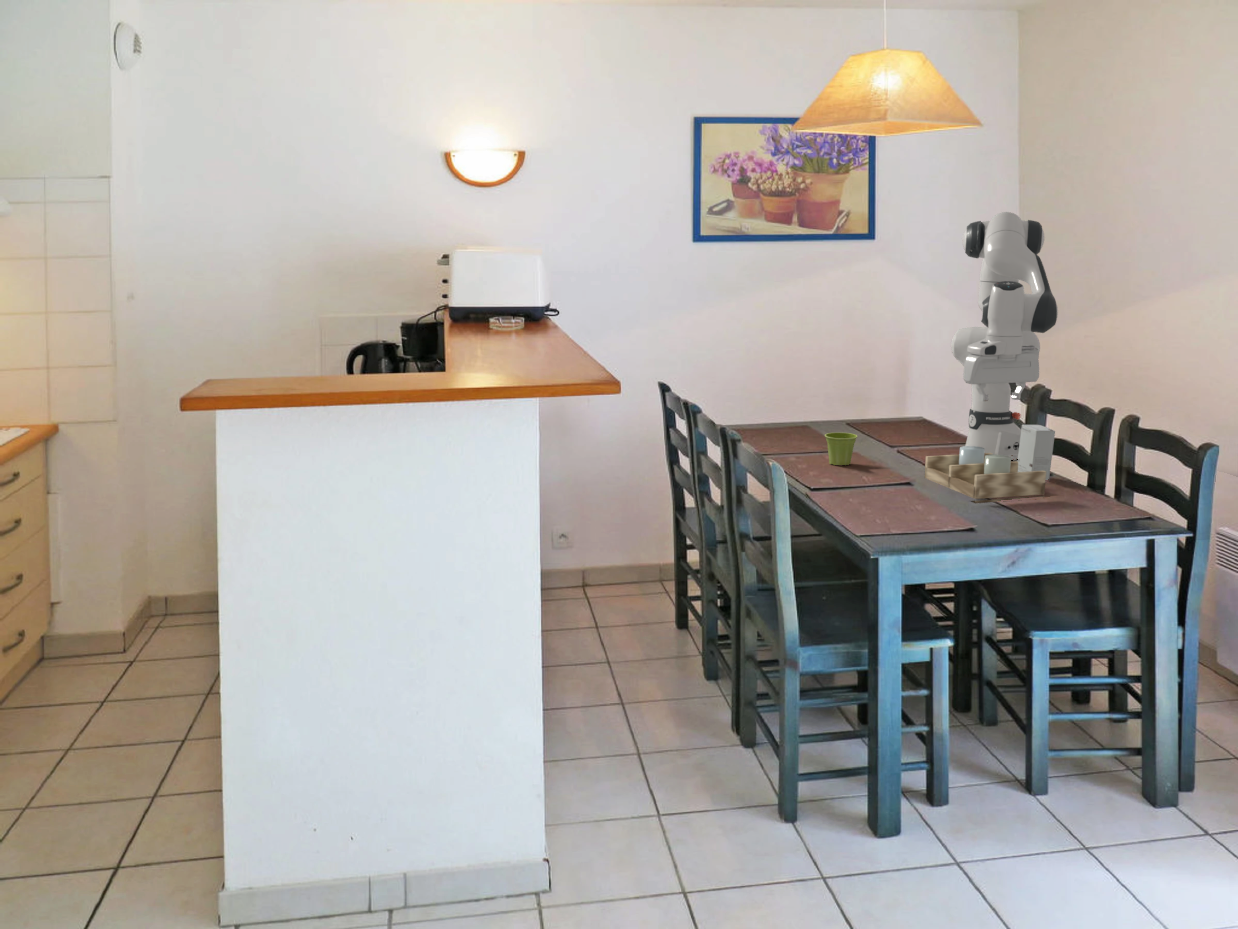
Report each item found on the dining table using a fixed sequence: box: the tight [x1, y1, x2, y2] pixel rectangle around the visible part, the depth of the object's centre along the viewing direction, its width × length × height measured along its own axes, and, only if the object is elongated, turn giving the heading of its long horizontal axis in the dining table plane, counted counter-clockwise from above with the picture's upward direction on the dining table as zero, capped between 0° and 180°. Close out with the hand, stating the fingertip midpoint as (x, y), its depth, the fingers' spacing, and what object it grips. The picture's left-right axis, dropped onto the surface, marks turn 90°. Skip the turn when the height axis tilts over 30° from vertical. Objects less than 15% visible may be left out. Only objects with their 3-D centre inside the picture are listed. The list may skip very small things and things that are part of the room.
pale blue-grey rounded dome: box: [958, 445, 985, 465], centre depth 301 cm, size 6×6×9 cm
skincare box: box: [1016, 424, 1056, 480], centre depth 307 cm, size 8×6×15 cm
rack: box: [924, 453, 1046, 504], centre depth 295 cm, size 20×25×7 cm
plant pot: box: [824, 432, 858, 466], centre depth 328 cm, size 9×9×9 cm
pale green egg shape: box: [984, 454, 1012, 474], centre depth 289 cm, size 6×6×9 cm
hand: (999, 400), depth 286 cm, fingers open, 8 cm apart
